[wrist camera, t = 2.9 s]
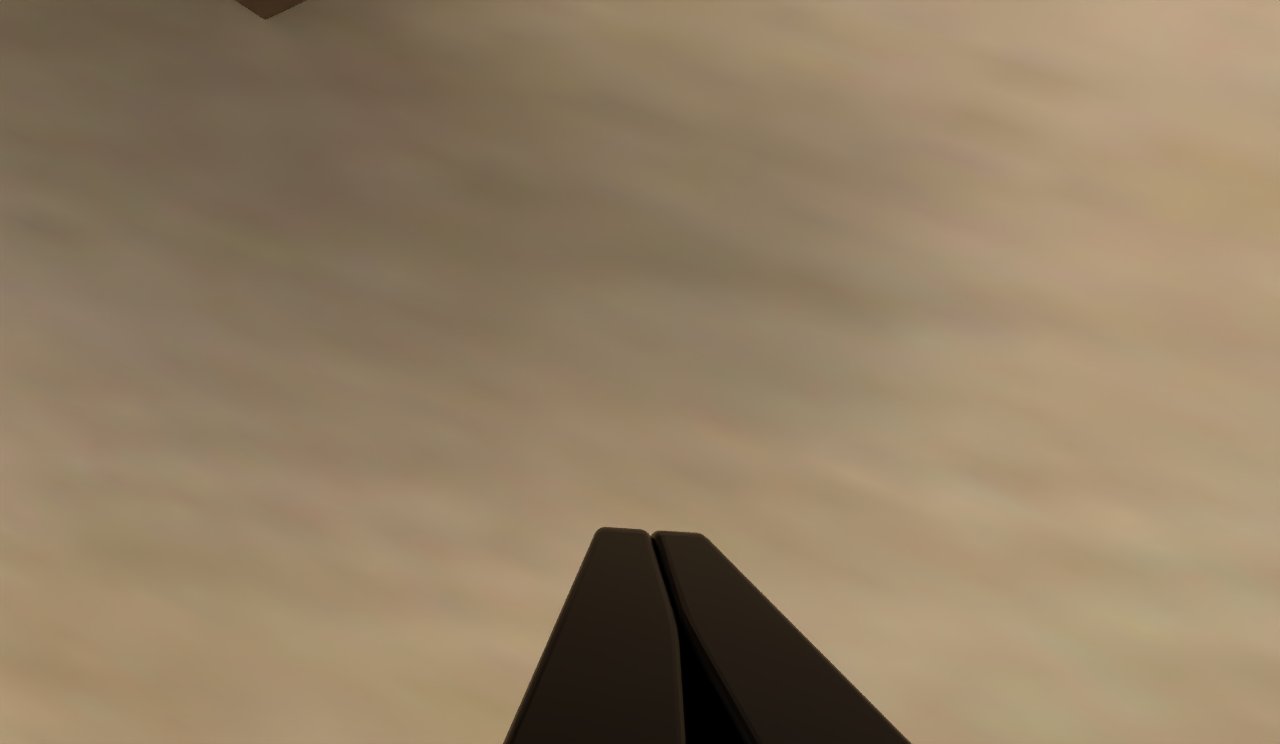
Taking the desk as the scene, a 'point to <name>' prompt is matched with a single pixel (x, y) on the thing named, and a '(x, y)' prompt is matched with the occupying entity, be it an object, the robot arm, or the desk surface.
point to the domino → (268, 6)
